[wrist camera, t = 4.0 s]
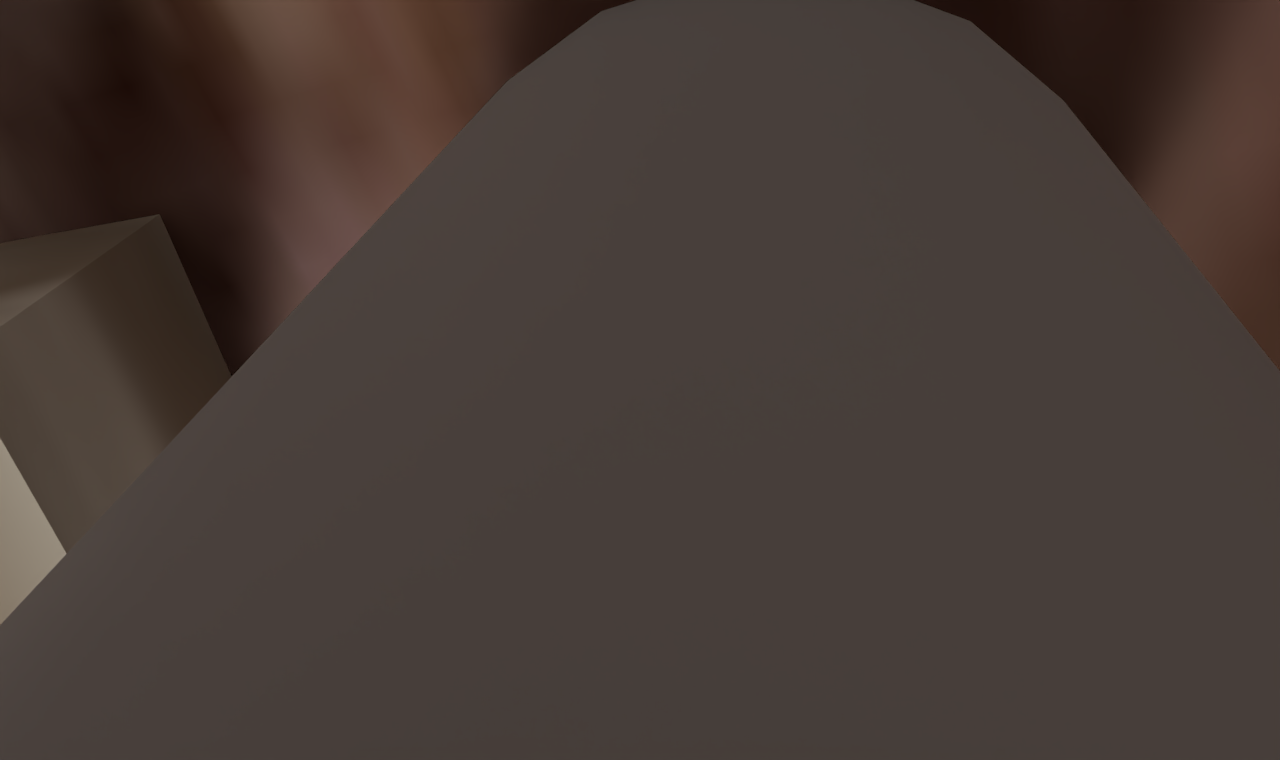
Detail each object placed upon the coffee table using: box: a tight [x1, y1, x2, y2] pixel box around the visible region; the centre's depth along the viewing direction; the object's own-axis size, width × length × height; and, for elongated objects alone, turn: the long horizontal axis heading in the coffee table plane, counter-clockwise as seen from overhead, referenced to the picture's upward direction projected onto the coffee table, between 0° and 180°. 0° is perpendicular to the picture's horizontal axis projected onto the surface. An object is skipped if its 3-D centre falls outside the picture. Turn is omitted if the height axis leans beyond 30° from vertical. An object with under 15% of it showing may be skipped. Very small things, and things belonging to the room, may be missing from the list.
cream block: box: [0, 214, 232, 625], centre depth 14 cm, size 4×4×4 cm
